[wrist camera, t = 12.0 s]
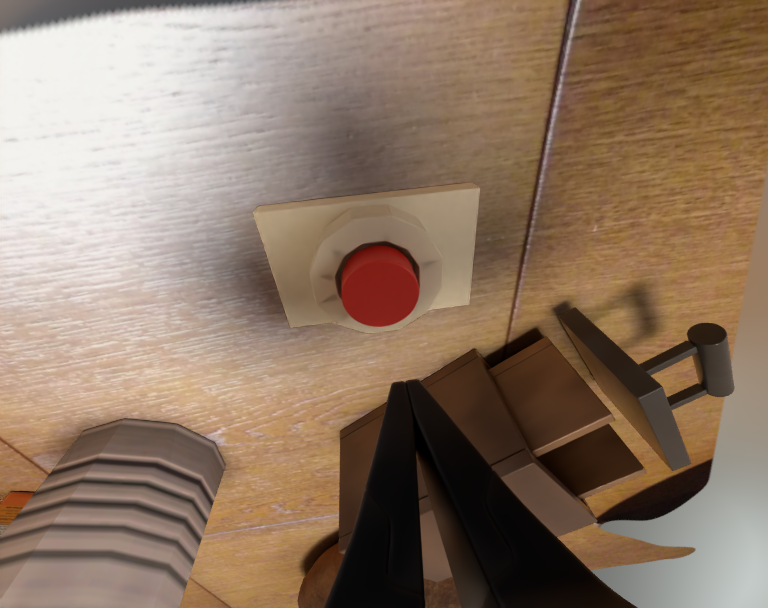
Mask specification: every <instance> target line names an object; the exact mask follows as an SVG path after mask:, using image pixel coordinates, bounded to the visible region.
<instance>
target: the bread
mask: <svg viewBox="0 0 768 608" xmlns="http://www.w3.org/2000/svg"><path fill="white" fill-rule="evenodd" d="M343 556H344V554H342V553H339V542H338V543H337V544H335V545H334V546H332V547H330V548H329V549H327V550H326V551H325V552H324V553H323V554H322V555H321V556H320V557H319V558H318V559H317V560H316V562H315V563H314V565H313V566H312V568H311V569H310V570H309V572H308V573H307V575H306V576H305V578H304V579H303V582H302V585H301V588H300V592H299V596H298V605H299V608H324V606H325V604H326V601H327V598H328V596H329V593H330V590H331V588H332V585H333V583H334V580H335V577H336V575H337V572H338V569H339V567H340V564H341V562H342V559H343ZM424 590H425V607H426V608H462V606H461V603H460V599H459V596H458V593H457V589H456V586H455V583H454V579H453V577H450V578H447V579H445V580H442V581H439V582H435V581H431V580H428V579H425V578H424Z"/></svg>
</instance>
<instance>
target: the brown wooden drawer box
mask: <svg viewBox="0 0 768 608" xmlns="http://www.w3.org/2000/svg"><path fill="white" fill-rule="evenodd" d="M489 369H491V366H490V365H489V364H488V363H487V362H486V361H485V360H484V359H483V357H482V356H481V355H480V354H479V353H478V352H477V351H476V350H475V349H474V350H472V351H470V352H469V353H467V354H466V355H464V356H462V357H461V358H459V359H457V360H456V361H454V362H453V363H451V364H449V365H448V366H446V367H444V368H443V369H441V370H439V371H438V372H436V373H435V374H433V375H431V376H430V377H428V378H426V379H425V380H423V381H422V382H421V383H422V384H423V385H424V386H425V387H426V389H427V390H428V391H429V392H430V393H431V395H432V396H433V397H434V398H435V399H436V401H437V402H438V403H439V404H440V405H441V407H442V408H443V409H444V410H445V411H446V413H447V414H448V415H449V416H450V417H451V419H452V420H453V421H454V422H455V424H456V425H457V426H458V427H459V428H460V430H461V431H462V432H463V433H464V434H465V436H466V437H467V438H468V439H469V440H470V442H471V443H472V444H473V445H474V446H475V448H476V449H477V450H478V451H479V452H480V454H481V455H482V456H483V457H484V458H485V460H486V461H487V462H488V463H489V464H490V466H491V467H492V471H493V470H494V471H496V473H497V474H498V475H499V476H500V477H501V479H502V480H503V481H504V482H505V483H506V485H507V486H508V487H509V488H510V489H511V490H512V491H513V493H514V494H515V495H516V496H517V497H518V498H519V499H520V501H521V502H522V503H523V504H524V505H525V506H526V507H527V508H528V509H529V510H530V511H531V512H532V513H533V514H534V515H535V516H536V517H537V518H538V519H539V520H540V521H541V522H542V523H543V524H544V525H545V526H546V527H547V528H548V529H549V530H550V531H551V532H552V533H553V534H554V535H555V536H556V537H559V536H561V535H564V534H567V533H569V532H572V531H575V530H577V529H580V528H583V527H585V526H588V525H591V524H593V523H596V522H597V519H596V518H595V516H594V514H593V513H592V511H591V510H590V507H589V506H588V504H587V502H586V501H585V499H581V500H580V499H579V498H578V497H577V496H575V495H574V494H573V493H572V492H571V491H570V490H569V489H568V488H567V487H566V486H565V485H564V484H563V483H562V482H561V481H560V480H559V479H558V478H556V477H555V476H554V475H553V474H552V473H551V472H550V471H549V470H548V469H547V468H546V467H545V466H544V465H543V464H542V463H541V462H540V461H539V460H537V459H536V458H535V457H534V456H533V455H532V454H531V451H530V449H529V447H528V445H527V443H526V442H525V440H524V438H523V436H522V434H521V432H520V430H519V428H518V426H517V424H516V423H515V421H514V419H513V417H512V415H511V413H510V411H509V409H508V407H507V405H506V404H505V402H504V400H503V398H502V396H501V394H500V392H499V390H498V388H497V386H496V385H495V383H494V381H493V379H492V377H491V375H490V373H489V371H488V370H489ZM386 404H387V403H386ZM386 404H384V405H382V406H381V407H379V408H377V409H376V410H374V411H373V412H371V413H369V414H368V415H366V416H364V417H363V418H361V419H360V420H358V421H356V422H355V423H353V424H351V425H350V426H348V427H346V428H345V429H343V430H342V431H340V493H339V538H340V539H339V553H342V554H345V551H346V548H347V545H348V542H349V540H350V537H351V534H352V531H353V528H354V525H355V521H356V518H357V514H358V511H359V508H360V504H361V500H362V496H363V492H364V491H365V485H366V481H367V478H368V474H369V470H370V466H371V462H372V458H373V454H374V450H375V447H376V443H377V439H378V435H379V431H380V427H381V423H382V420H383V416H384V412H385V408H386ZM416 461H417V477H418V493H419V509H420V526H421V542H422V558H423V574H424V578H425V579H428V580H431V581H435V582H439V581H442V580H445V579H447V578H450V577H453V576H452V573H451V569H450V566H449V563H448V559H447V556H446V553H445V549H444V546H443V542H442V539H441V536H440V532H439V529H438V526H437V522H436V519H435V516H434V512H433V509H432V506H431V502H430V499H429V496H428V492H427V489H426V485H425V482H424V479H423V475H422V472H421V469H420V465H419V462H418V458H417V455H416Z"/></svg>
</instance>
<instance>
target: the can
mask: <svg viewBox="0 0 768 608" xmlns="http://www.w3.org/2000/svg"><path fill="white" fill-rule="evenodd" d="M224 468H225V463H224V461H223V459H222V457H221V455H220V453H219V451H218V449H217V447H216V445H215V443H214V442H212V441H210V440H208V439H206V438H204V437H202V436H200V435H198V434H196V433H194V432H192V431H190V430H188V429H186V428H184V427H182V426H180V425H178V424H172V423H162V422H152V421H143V420H133V419H122V420H118V421H115V422H111V423H108V424H105V425H101V426H98V427H94V428H91V429H88V430H84V431H83V432H82V433H81V435H80V436H79V437H78V439H77V440H76V441H75V442H74V444H73V445H72V446H71V447H70V449H69V450H68V451H67V453H66V454H65V455H64V456H63V458H62V459H61V460H60V461H59V463H58V464H57V465H56V467H55V468H54V469H53V470H52V472H51V473H50V474H49V475H48V477H47V478H46V479H45V481H44V482H43V483H42V484H41V486H40V487H39V488H38V489H37V491H36V492H35V493H34V495H33V496H32V497H31V498H30V500H29V501H28V502H27V503H26V505H25V506H24V507H23V509H22V510H21V511H20V512H19V514H18V515H17V516H16V518H15V519H14V520H13V521H12V523H11V524H10V525H9V526H8V528H7V529H6V530H5V532H4V533H3V534H2V535H1V537H0V608H179V607H180V604H181V601H182V598H183V595H184V591H185V588H186V585H187V582H188V579H189V576H190V573H191V570H192V567H193V564H194V561H195V558H196V555H197V551H198V548H199V545H200V542H201V539H202V536H203V533H204V530H205V527H206V524H207V521H208V518H209V515H210V511H211V508H212V505H213V502H214V499H215V496H216V493H217V490H218V487H219V484H220V481H221V478H222V475H223V471H224Z"/></svg>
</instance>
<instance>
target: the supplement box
mask: <svg viewBox="0 0 768 608" xmlns="http://www.w3.org/2000/svg"><path fill="white" fill-rule="evenodd" d="M33 495H34V493H28V492H10V493H9V494H8V495H7V496H6V498H5V499H4V500H3V501H2V502H1V504H0V537H1V535H2V534H3V533H4V532H5V530H6V529H7V528H8V526H9V525H10V524H11V523H12V521H13V520H14V519H15V518H16V516H17V515H18V514H19V512H20V511H21V510H22V509H23V507H24V506H25V505H26V503H27V502H28V501H29V500H30V498H31V497H32V496H33Z"/></svg>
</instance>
